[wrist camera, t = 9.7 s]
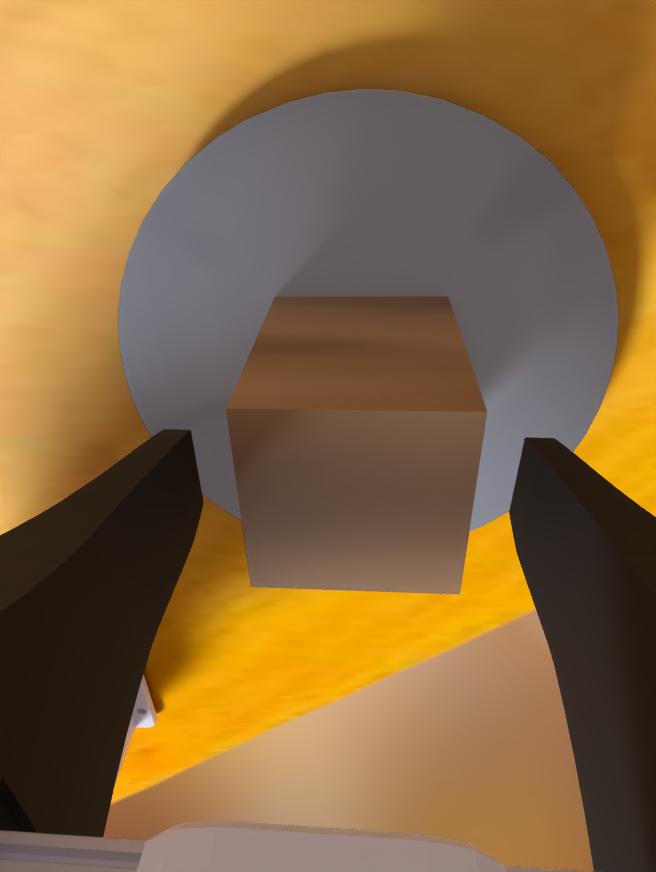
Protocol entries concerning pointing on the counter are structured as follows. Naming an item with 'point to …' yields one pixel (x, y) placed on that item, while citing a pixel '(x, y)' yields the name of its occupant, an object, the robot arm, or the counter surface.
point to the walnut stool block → (357, 445)
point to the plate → (372, 267)
